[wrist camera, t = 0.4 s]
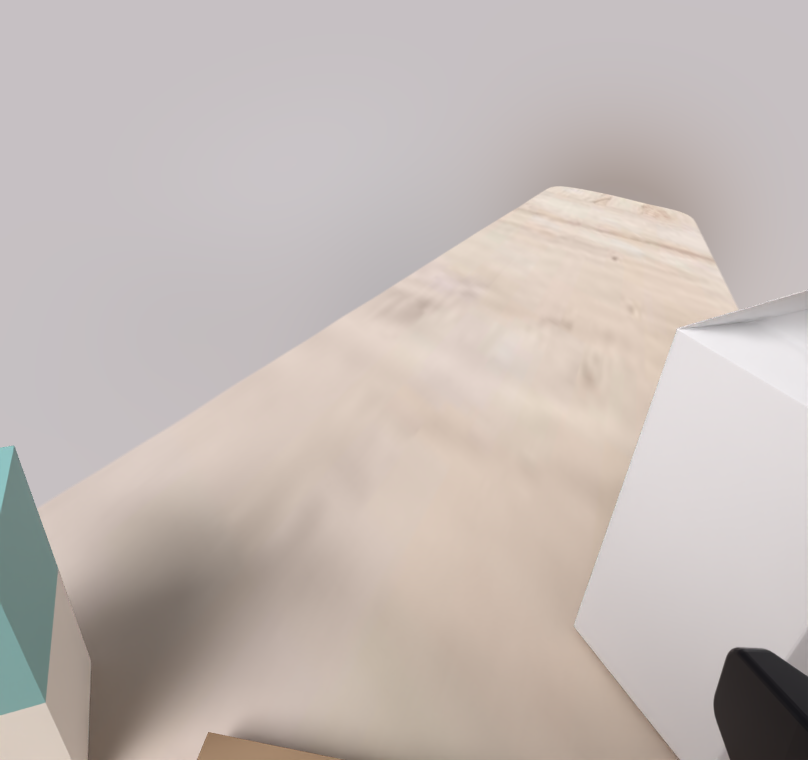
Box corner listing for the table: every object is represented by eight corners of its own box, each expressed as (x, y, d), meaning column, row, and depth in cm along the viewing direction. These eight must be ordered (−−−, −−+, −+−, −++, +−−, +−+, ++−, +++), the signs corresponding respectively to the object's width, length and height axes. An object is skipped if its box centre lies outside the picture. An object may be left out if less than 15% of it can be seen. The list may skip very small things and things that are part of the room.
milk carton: (570, 628, 27) (719, 197, 17) (685, 576, 30) (873, 181, 20) (698, 790, 22) (1028, 311, 12) (822, 709, 25) (1176, 266, 14)
